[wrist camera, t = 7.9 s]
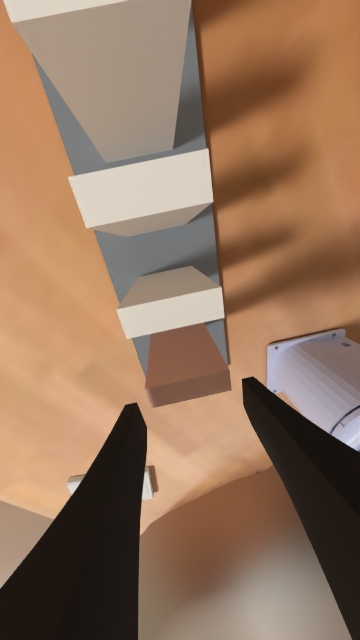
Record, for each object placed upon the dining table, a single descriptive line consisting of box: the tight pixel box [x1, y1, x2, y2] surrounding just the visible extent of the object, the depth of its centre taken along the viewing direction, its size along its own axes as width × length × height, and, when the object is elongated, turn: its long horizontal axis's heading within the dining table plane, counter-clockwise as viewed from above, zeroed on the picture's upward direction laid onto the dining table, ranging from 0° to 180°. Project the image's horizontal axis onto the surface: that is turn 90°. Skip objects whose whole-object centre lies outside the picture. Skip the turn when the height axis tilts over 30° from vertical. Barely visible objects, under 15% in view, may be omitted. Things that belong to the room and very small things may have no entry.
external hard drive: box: [67, 466, 154, 500], centre depth 30 cm, size 2×8×12 cm
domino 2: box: [68, 149, 213, 237], centre depth 11 cm, size 5×2×9 cm, turn 101°
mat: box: [32, 0, 228, 377], centre depth 15 cm, size 10×32×1 cm, turn 11°
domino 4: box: [145, 322, 231, 408], centre depth 15 cm, size 5×2×9 cm, turn 101°
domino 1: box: [3, 0, 191, 163], centre depth 9 cm, size 5×2×9 cm, turn 101°
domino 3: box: [116, 266, 225, 339], centre depth 13 cm, size 5×2×9 cm, turn 101°
